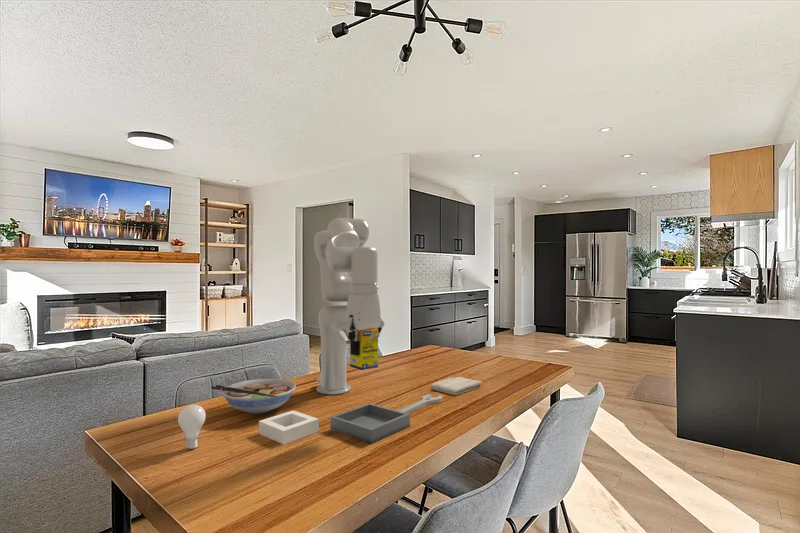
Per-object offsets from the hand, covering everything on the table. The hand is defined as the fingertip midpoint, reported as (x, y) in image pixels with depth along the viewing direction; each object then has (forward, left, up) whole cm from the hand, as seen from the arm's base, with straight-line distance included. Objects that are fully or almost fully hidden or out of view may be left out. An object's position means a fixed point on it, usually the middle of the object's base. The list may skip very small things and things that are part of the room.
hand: (364, 352), depth 121 cm
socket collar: (-14, -16, -22) cm, 30 cm away
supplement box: (0, 0, -4) cm, 4 cm away
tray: (+1, +1, -22) cm, 22 cm away
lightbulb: (-24, -38, -22) cm, 50 cm away
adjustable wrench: (0, +24, -22) cm, 33 cm away
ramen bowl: (-37, -10, -22) cm, 44 cm away
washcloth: (-1, +52, -22) cm, 57 cm away
